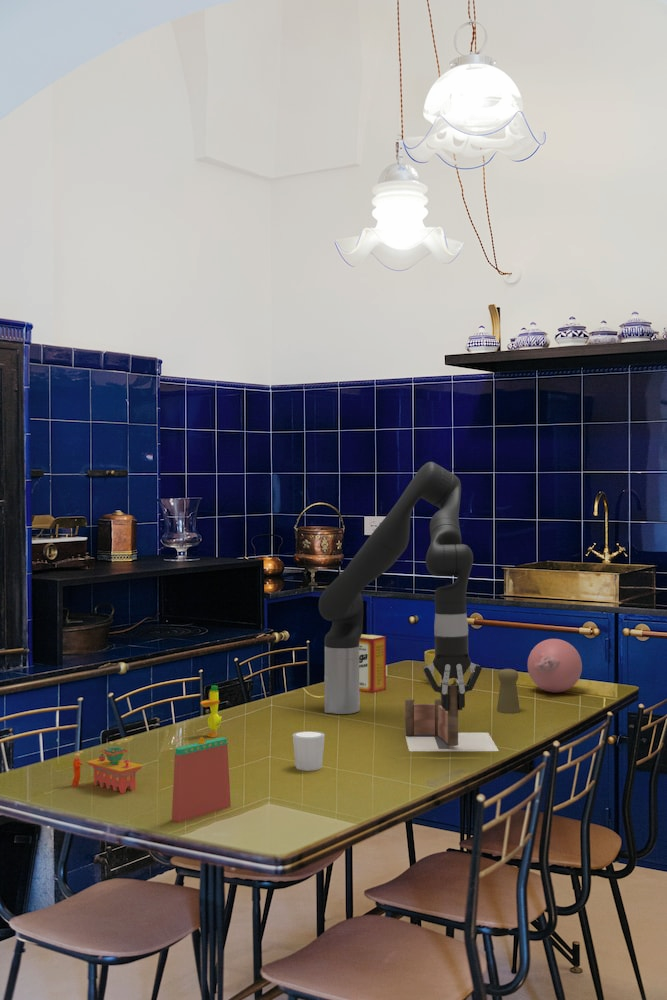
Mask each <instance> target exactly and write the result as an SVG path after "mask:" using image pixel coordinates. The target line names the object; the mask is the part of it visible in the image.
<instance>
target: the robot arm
mask: <svg viewBox="0 0 667 1000" xmlns="http://www.w3.org/2000/svg"><path fill="white" fill-rule="evenodd" d="M403 491H404V492H403V493H402V494H401V496H400V498H398V500H397V502H396V503H395V504H394V506H393V507H392V508H391V509H390V511H389V512H388V513H387V515H386V516H385V517H384V518H383V519H382V521H381V522H380V523H379V525H378V526H377V527H376V528H375V529H374V531H373V532H372V533H371V534H370V535H369V536H368V538H367V539H366V541H365V542H364V544H363V545H362V546H361V547H360V548H359V550H358V552H357V553H356V554H355V555H354V556H353V558H352V559H351V560H350V562H349V563H348V565H347V566H346V568H344V570H343V571H342V572H341V573H340V574H339V575H338V576H337V577H336V578H335V579H334V580H333V581H332V582H331V583H330V584H329V585H328V586H327V587H326V588H325V590H324V591H322V593H321V595H320V597H319V600H318V611H319V613H320V616H322V618H323V619H324V620H327V621H330V622H332V624H331V627H330V630H329V631H328V632H327V633H326V634H325V636H324V679H323V680H324V684H323V685H324V695H323V696H324V713H325V714H326V713H327V714H335V715H336V714H337V715H345V714H346V715H347V714H356V713H358V712H360V703H361V702H360V691H359V640H360V637H361V635H362V634H363V628H364V627H363V624H364V623H363V622H364V601H363V596H362V594H361V592H362V591H363V590H364V589H365V588H366V587H367V586H368V585H369V584H370V583H372V582H373V581H374V580H376V579H377V578H379V577H380V576H382V575H383V574H384V573H386V572H387V571H388V570H389V569H390V568H391V567H392V566H393V565H394V564H395V563H396V562H397V561H398V559H399V558H400V557H401V555H402V554H403V553H404V552H405V550H407V548H408V545H409V541H410V533H411V530H410V529H411V517H412V512H413V509H414V508H415V505H416V504H417V502H418V501H419V500H420V499H423V500H424V501H426V502H428V503H430V504H431V505H432V506H434V507H435V506H436V507H437V508H439V510H438V511H436V512H435V513H434V515H432V517H431V520H430V523H429V535H430V545H429V547H428V550H427V552H426V554H425V555H426V556H425V567H426V569H427V571H428V572H429V573H430V574H431V575H433V576H436V577H447V576H450V577H452V576H453V577H455V576H456V579H455V581H454V582H453V583H452V584H448V585H444V586H440V587H437V588H436V589H435V591H434V621H433V622H434V625H433V627H434V650H435V658H434V660H433V663H432V664H430V665H428V666H427V665H424V666H423V667H422V671H423V673H424V675H425V677H426V679H427V680H428V682H429V684H430V686H431V688H432V690H433V691H434V692H436V693H440V699H441V706H442V708H444V710H445V711H449V706H448V690H447V689H448V686H449V685H448V683H449V679H451V678H454V679H455V681H456V686H458V711H463V708H465V707H466V703H465V702H466V693H467V692H469V691H470V692H472V690H473V689H474V687H475V684H476V683H477V680H478V678H479V676H480V674H481V672H482V668H483V667H481V665H479V664H475V663H473V662H472V660H471V658H470V656H469V624H468V623H469V622H468V616H467V589H468V582H469V579H470V574H471V571H472V568H473V563H474V554H473V551H472V549H471V547H470V546H468V545H467V544H464V543H462V534H461V528H460V521H459V518H460V517H459V515H460V514H459V513H460V509H461V508H460V506H461V497H462V496H461V495H462V484H461V480H460V478H459V477H457V475H455V474H454V473H453V472H451V471H449V470H447V469H445V468H444V467H442V466H441V465H439V464H437V463H436V462H434V461H428V462H426V463H424V465H422V466H421V467H420V468H419V470H418V471H417V472H416V474H414V476H413V478H412V479H411V480H410V482H409V484H408V485H407V486H406V488H405V490H403ZM469 667H470V669H469ZM434 668H436V669H437V671H438V672H439V673H440V675H441V686H438V685H437V683H436V681H435V680H434V678H433V676H432V675H433V674H434ZM468 669H469V671H470V675H469V678H468V680H467V682H466V684H465V680H464V675H465V673H466V672H467V671H468Z"/></svg>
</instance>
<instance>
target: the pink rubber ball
mask: <svg viewBox="0 0 667 1000" xmlns="http://www.w3.org/2000/svg"><path fill="white" fill-rule="evenodd" d="M582 663H583V661H582V658H581V655H580V654H579V651H578V650H577V649H576V648H575V647H574V645H572V644H571V643H569V642H568V641H565V640H563V639H559V638H548V639H545V640H542V641H540V642H539V643H537V644H536V645H535V646H534V647H533V649H532V650H530V653H529V656H528V658H527V672H528V674H529V677H530V679H531V681H532V682H533V683H534V685H535V686H536V687H537V688H539V689H541V690H543V691H545V692H547V693H552V694H553V693H555V694H557V693H558V694H559V693H562V692H565V691H568V690H570V689H572V688H573V687H574V686H575V685H577V684H576V683H578V682H579V679H580V677H581V674H582V671H583V664H582Z"/></svg>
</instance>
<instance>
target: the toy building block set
mask: <svg viewBox="0 0 667 1000" xmlns="http://www.w3.org/2000/svg"><path fill="white" fill-rule="evenodd" d="M227 740H228V738H227V737H223V736H221V737H218V738H216V737H215V738H212V739H208V740H205V739H204V737H203V736H200V737H199V739H197V742H194V743H192V744H186V745H183V746H178V747H175V748H174V750H175V752H174V763H173V765H174V767H173V784H172V805H171V806H172V808H171V810H172V811H171V821H174V822H176V823H182V822H185V821H189V820H191V819H195V818H198V817H201V816H205V815H208V814H212V813H214V812H218V811H221V810H224V809H227V808H231V806H232V805H231V784H230V769H229V768H230V767H229V748H228V744H229V743H228V742H227ZM101 752H102V753H101V754H100V755H99V756H98V758H95V759H90V760H86V761H85V762H86V763H87V765H88V766H91V767H92V768H93V784H94V786H100V788H105V787H106V789H107V790H113V791H114V792H118V791H119V793H120V794H124V793H127V792H126V791H127V789H128V790H129V791H135V790H136V773H137V771H139V770H141V769H142V767H144V765H143V764H139V763H136V762H132V761H130V760H131V759H129V758H125V759H122V758H123V756H124V754H125V753H127V752H128V749H127V748H126V749H125V748H122V747H119V746H118V747H117V746H114V747H110V748H105V749H102V750H101ZM81 757H82V755H81V754H80V753H79V752H77V753H74V754H73V759H74V760H73V761H72V766H73V776H74V777H73V780H72V783H71V786H73V787H78V786H80V783H79V782H80V779H81V766H83V760H81Z"/></svg>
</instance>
